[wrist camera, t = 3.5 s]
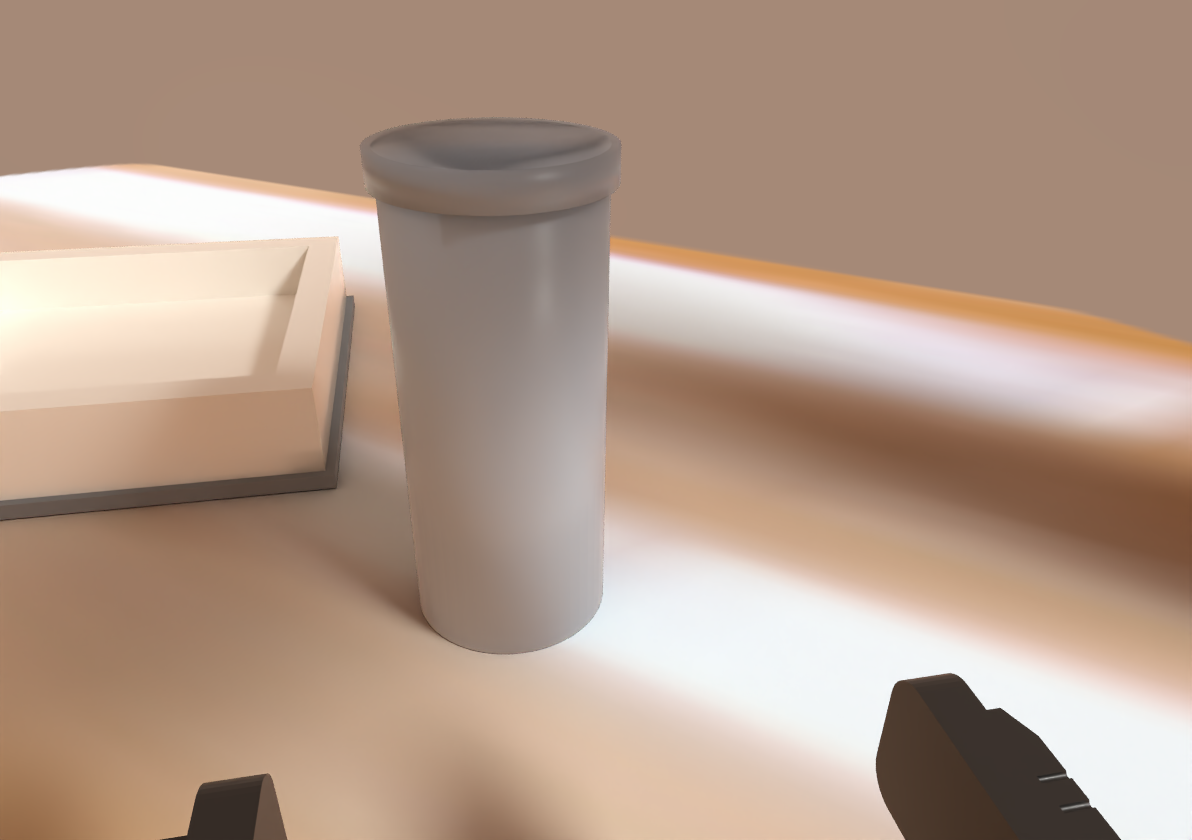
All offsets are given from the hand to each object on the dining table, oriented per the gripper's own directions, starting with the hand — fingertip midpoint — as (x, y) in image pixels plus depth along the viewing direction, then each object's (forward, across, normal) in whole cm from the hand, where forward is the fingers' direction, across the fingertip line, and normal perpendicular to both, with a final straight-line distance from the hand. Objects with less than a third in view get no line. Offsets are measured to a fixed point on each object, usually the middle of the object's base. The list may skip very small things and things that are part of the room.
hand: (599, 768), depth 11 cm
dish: (+26, +13, +6) cm, 29 cm away
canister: (+12, 0, +6) cm, 13 cm away
